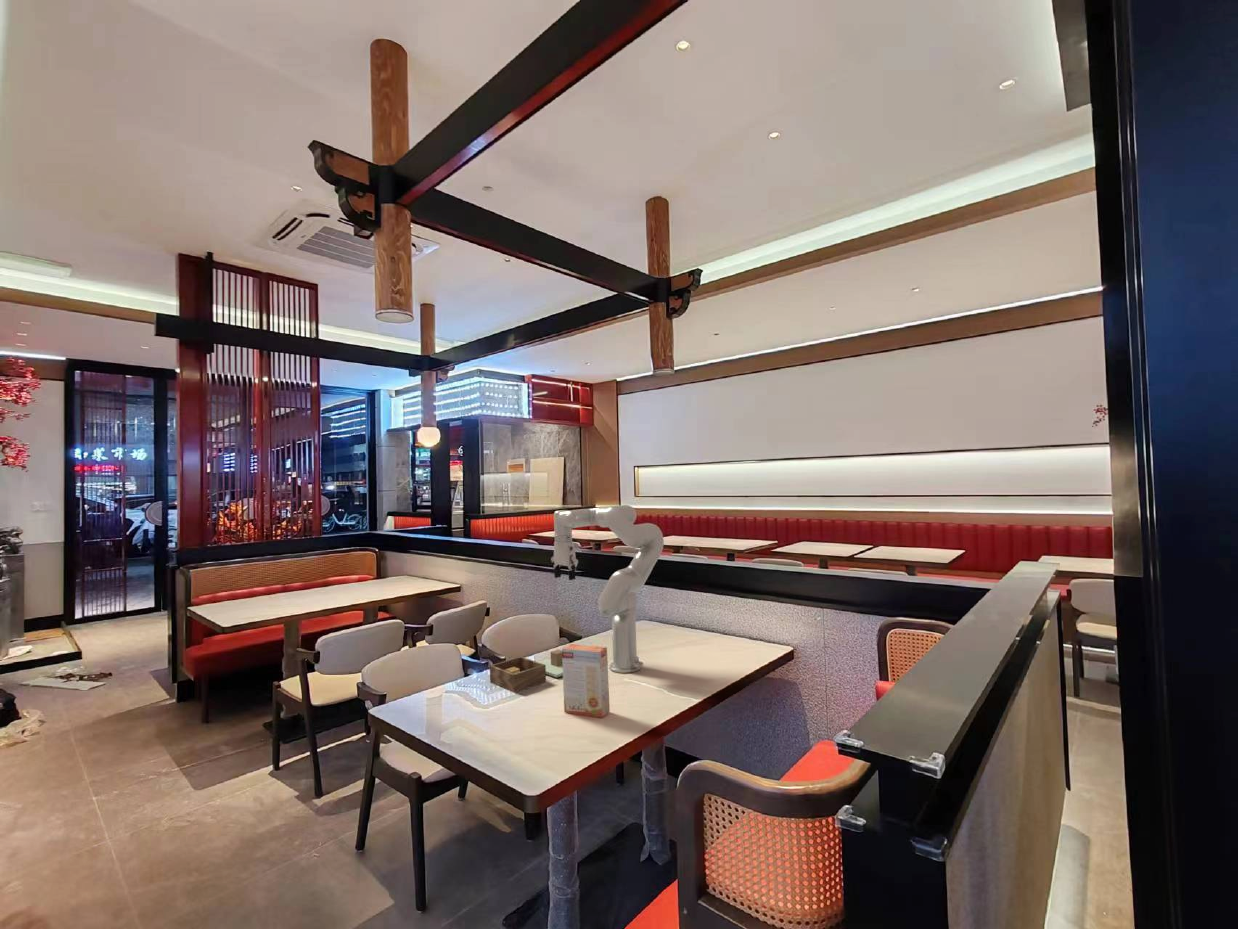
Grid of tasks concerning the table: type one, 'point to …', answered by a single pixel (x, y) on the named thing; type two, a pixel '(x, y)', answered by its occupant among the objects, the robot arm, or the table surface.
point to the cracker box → (585, 680)
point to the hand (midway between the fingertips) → (564, 578)
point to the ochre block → (513, 670)
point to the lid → (554, 664)
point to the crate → (518, 674)
